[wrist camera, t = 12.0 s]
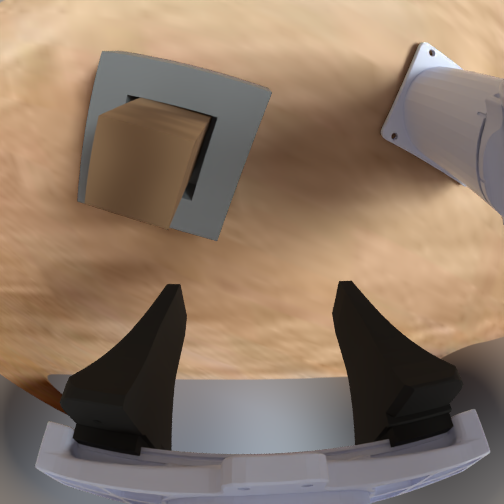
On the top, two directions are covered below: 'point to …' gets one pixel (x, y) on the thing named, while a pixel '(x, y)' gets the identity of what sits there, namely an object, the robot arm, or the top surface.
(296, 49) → the top surface
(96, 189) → the walnut peg
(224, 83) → the socket block
